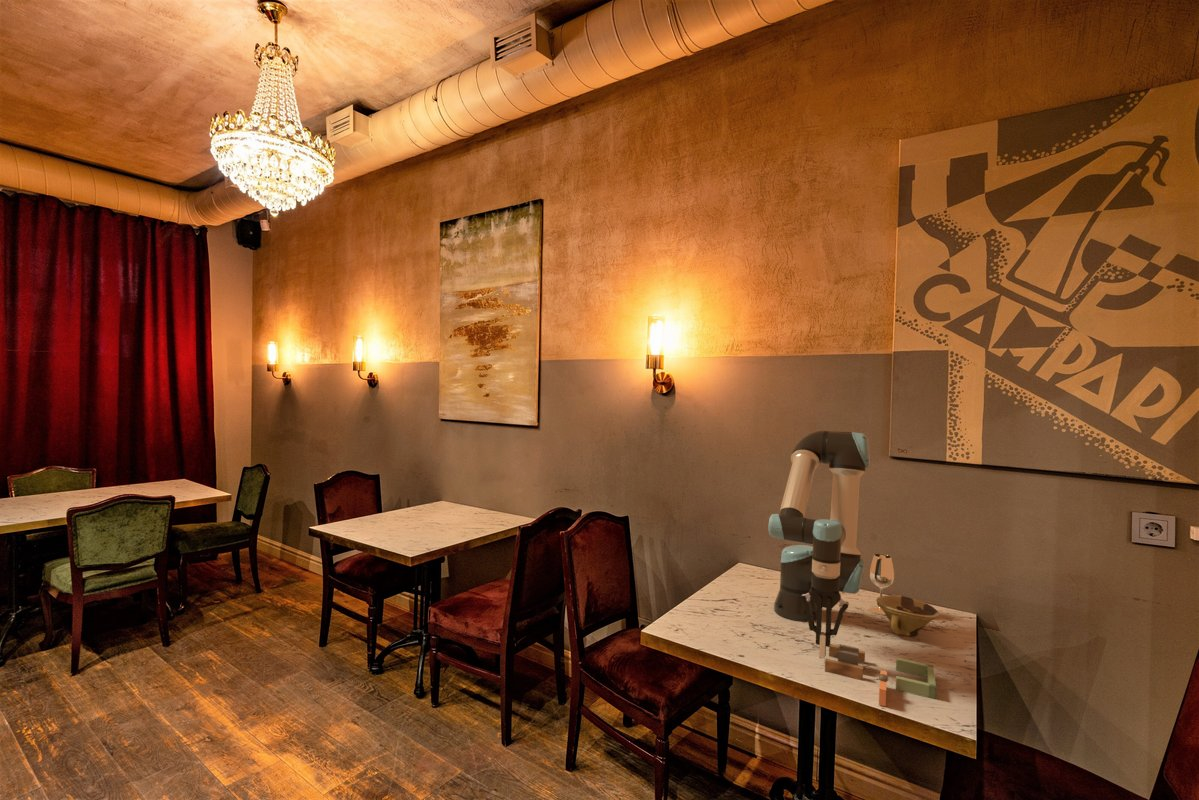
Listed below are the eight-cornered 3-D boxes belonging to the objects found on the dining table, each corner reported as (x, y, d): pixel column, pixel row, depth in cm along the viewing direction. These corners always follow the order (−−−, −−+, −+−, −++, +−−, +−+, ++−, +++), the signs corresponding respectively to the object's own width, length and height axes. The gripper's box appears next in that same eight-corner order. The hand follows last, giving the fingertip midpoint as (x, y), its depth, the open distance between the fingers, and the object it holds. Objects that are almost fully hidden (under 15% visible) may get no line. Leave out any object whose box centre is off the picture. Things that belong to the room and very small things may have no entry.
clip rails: (824, 671, 158) (825, 660, 158) (829, 654, 169) (829, 644, 169) (862, 680, 154) (862, 669, 154) (864, 662, 164) (865, 651, 164)
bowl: (919, 649, 174) (920, 618, 173) (864, 627, 189) (865, 599, 189) (949, 637, 183) (950, 608, 183) (895, 618, 198) (896, 590, 198)
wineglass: (864, 607, 207) (866, 552, 207) (884, 607, 208) (886, 552, 208) (876, 615, 199) (878, 559, 199) (897, 615, 200) (899, 559, 200)
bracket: (895, 689, 149) (896, 678, 149) (895, 667, 161) (896, 657, 161) (935, 699, 145) (936, 687, 145) (932, 676, 157) (933, 665, 157)
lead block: (837, 669, 160) (838, 651, 160) (839, 661, 164) (839, 644, 164) (857, 673, 158) (858, 655, 157) (858, 666, 162) (858, 648, 162)
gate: (877, 704, 141) (878, 684, 141) (878, 684, 151) (879, 666, 151) (886, 706, 141) (887, 686, 140) (887, 686, 150) (888, 667, 150)
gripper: (799, 574, 163) (796, 655, 164) (849, 582, 157) (845, 667, 158) (803, 567, 170) (800, 646, 170) (851, 575, 164) (848, 656, 164)
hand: (822, 656), depth 164 cm, fingers closed
